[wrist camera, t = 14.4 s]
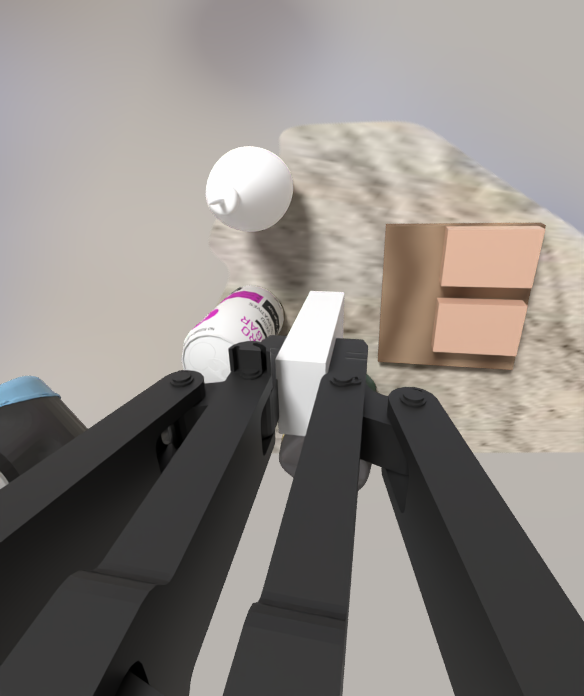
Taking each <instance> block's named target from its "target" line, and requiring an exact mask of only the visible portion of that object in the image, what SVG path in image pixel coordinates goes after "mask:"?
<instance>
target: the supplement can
mask: <svg viewBox="0 0 584 696" xmlns="http://www.w3.org/2000/svg"><path fill="white" fill-rule="evenodd" d="M283 321H284V316H283V309H282V307H281V305H280V303H279V300H278V299H277V298H276V297H275V296H274V295H273V294H272V293H271V292H270V291H268V290H266V289H264V288H262V287H260V286H253V285H247V286H242V287H239V288H238V289H236V290H235V291H233V292H232V293H231V294H229V295H228V296H227V297H226V298H225V299H224V300H223V301H222V302H221V303H220V304H219V305H218V306H217V307H216V308H214V309H213V310H212V311H211V312H210V313H209V314H208V315H207V316H206V317H205V318H204V319H203V320H202V321H201V322H200V323H199V324H197V325H196V326H195V327H194V328H193V329H192V330H191V331H190V332H189V334H188V335H187V337H186V339H185V340H184V345H183V353H182V364H183V369H184V370H191V371H197V372H199V373H201V374H202V375H203V376H204V382H205V383H214V382H222V381H225V380H226V378H227V377H228V375H229V374H230V372H231V371H230V362H229V352H228V348H230V347H231V346H232V345H234V344H237V343H239V342H245V341H259V342H261V341H262V340H264V339H265V338H267V337H268V336H270V335H278V334H279V332H280V331H281V328H282V325H283Z"/></svg>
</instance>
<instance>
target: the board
mask: <svg viewBox="0 0 584 696" xmlns="http://www.w3.org/2000/svg"><path fill="white" fill-rule="evenodd" d="M446 226H540V227H542V228H544V229H545V226H546V225H544V224H542V223H451V224H386V232H385V248H384V265H383V281H382V298H381V314H380V331H379V347H378V362H392V363H408V364H425V365H441V366H458V367H474V368H491V369H507V370H512V369H513V365H514V361H515V356H504V355H486V354H468V353H449V352H433V350H432V345H431V342H432V334H433V326H434V318H435V310H436V302H437V298H469V299H504V300H523V301H524V303H525V304H526V305H527V304H528V300H529V296H530V291H531V288H500V287H456V286H441V284H440V282H439V277H440V269H441V261H442V253H443V245H444V237H445V229H446Z"/></svg>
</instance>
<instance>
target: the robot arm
mask: <svg viewBox="0 0 584 696" xmlns="http://www.w3.org/2000/svg"><path fill="white" fill-rule="evenodd" d="M344 294H345V292H324V291H310V293H309V295H308V297H307V299H306V301H305V302H304V304H303V306H302V308H301V310H300V312H299V314H298V316H297V318H296V320H295V322H294V324H293V326H292V328H291V330H290V332H289V334H288V336H278V335H270V336H268V337H267V338H265V339H264V340H262V341H261V342H259V341H245V342H239V343H237V344H234V345H232V346H231V347H230V348H228V352H229V362H230V371H231V372H230V374H229V375H228V377H227V378H226V380H225V381H222V382H214V383H205V382H204V376H203V375H202V374H201V373H199V372H197V371H191V370H184V371H183V370H181V371H178V372H174V373H171V374H169V375H167V376H165V377H164V378H162V379H161V380H159V381H158V382H157V383H155V384H154V385H152V386H151V387H149V388H148V389H146V390H145V391H143V392H142V393H140V394H139V395H137V396H136V397H134V398H133V399H132V400H130V401H129V402H127V403H126V404H124V405H123V406H121V407H120V408H118V409H117V410H115V411H114V412H113V413H111V414H110V415H108V416H107V417H105V418H104V419H102V420H101V421H99V422H98V423H97V424H95V425H94V426H92V427H91V428H89V429H87V428H86V426H85V425H84V424H83V423H82V422H81V421H80V420H79V419H78V418H77V417H76V416H75V415H74V413H73V412H72V411H71V410H70V409H69V408H68V407H67V406H66V405H65V404H64V403H63V401H62V400H61V397H60V395H59V394H57V393H54V392H53V391H52V390H51V389H50V388H49V387H48V386H47V385H46V384H45V383H44V382H43V381H42V380H41V379H39V378H37V377H34V376H22V377H18V378H16V379H13V380H10V381H8V382H5V383H3V384H1V385H0V696H189V691H190V681H191V677H192V672H193V669H194V666H195V663H196V660H197V657H198V655H199V652H200V649H201V646H202V643H203V640H204V638H205V635H206V632H207V630H208V627H209V624H210V621H211V619H212V616H213V613H214V610H215V608H216V605H217V602H218V599H219V597H220V594H221V591H222V588H223V585H224V583H225V580H226V577H227V575H228V571H229V569H230V566H231V563H232V561H233V558H234V555H235V552H236V550H237V547H238V544H239V541H240V538H241V536H242V533H243V530H244V528H245V525H246V522H247V519H248V517H249V514H250V511H251V508H252V506H253V503H254V500H255V497H256V494H257V492H258V489H259V486H260V483H261V481H262V478H263V475H264V472H265V470H266V467H267V464H268V461H269V459H270V456H271V453H272V450H273V448H274V445H275V428H276V425H277V422H278V426H279V433H280V434H289V435H298V436H305V439H304V442H303V446H302V449H301V453H300V457H299V460H298V464H297V468H296V471H295V475H294V478H293V482H292V486H291V490H290V493H289V497H288V500H287V504H286V508H285V512H284V515H283V518H282V522H281V526H280V529H279V533H278V537H277V540H276V544H275V548H274V551H273V555H272V558H271V562H270V566H269V569H268V573H267V577H266V580H265V584H264V587H263V591H262V594H261V597H260V599H259V601H258V602H256V603H253V604H252V606H251V607H250V609H249V611H248V614H247V617H246V620H245V622H244V625H243V629H242V632H241V636H240V639H239V642H238V645H237V649H236V652H235V656H234V659H233V662H232V666H231V669H230V673H229V676H228V679H227V683H226V686H225V689H224V693H223V696H342V692H343V679H344V678H343V677H344V665H345V653H346V638H347V626H348V612H349V599H350V587H351V572H352V561H353V547H354V535H355V522H356V509H357V495H358V483H359V472H360V459H361V460H364V461H367V462H369V463H372V464H375V465H377V466H380V467H382V476H383V479H384V482H385V485H386V488H387V491H388V494H389V497H390V501H391V503H392V506H393V510H394V512H395V516H396V519H397V521H398V525H399V528H400V530H401V534H402V537H403V540H404V543H405V546H406V549H407V552H408V555H409V558H410V561H411V564H412V567H413V570H414V573H415V576H416V579H417V582H418V585H419V588H420V591H421V594H422V597H423V600H424V603H425V606H426V609H427V613H428V615H429V618H430V622H431V625H432V628H433V631H434V634H435V637H436V640H437V643H438V645H439V649H440V652H441V655H442V658H443V660H444V664H445V667H446V670H447V673H448V676H449V679H450V682H451V685H452V688H453V691H454V694H455V696H584V621H583V620H582V618H581V617H580V615H579V614H578V612H577V611H576V609H575V608H574V606H573V605H572V603H571V602H570V600H569V599H568V597H567V596H566V594H565V593H564V591H563V589H562V588H561V586H560V585H559V583H558V582H557V580H556V579H555V577H554V576H553V574H552V573H551V571H550V570H549V569H548V567H547V565H546V564H545V562H544V561H543V559H542V558H541V556H540V554H539V553H538V552H537V550H536V548H535V547H534V546H533V544H532V543H531V541H530V539H529V538H528V536H527V535H526V533H525V532H524V530H523V529H522V527H521V526H520V524H519V523H518V521H517V520H516V518H515V516H514V515H513V514H512V512H511V511H510V509H509V507H508V506H507V504H506V503H505V501H504V500H503V498H502V497H501V495H500V494H499V492H498V491H497V489H496V488H495V486H494V485H493V483H492V482H491V480H490V478H489V477H488V475H487V474H486V472H485V471H484V469H483V468H482V466H481V465H480V463H479V462H478V460H477V459H476V457H475V456H474V454H473V453H472V451H471V449H470V448H469V446H468V445H467V443H466V442H465V440H464V439H463V437H462V436H461V434H460V433H459V431H458V430H457V428H456V427H455V425H454V424H453V422H452V421H451V419H450V418H449V416H448V414H447V413H446V411H445V410H444V408H443V407H442V405H441V404H440V402H439V401H438V399H437V398H436V397H435V396H434V395H433V394H431V393H430V392H428V391H426V390H423V389H420V388H416V387H403V388H397V389H395V390H393V391H391V393H390V394H389V396H385V395H382V394H379V393H377V392H375V391H373V390H372V389H370V388H369V387H368V385H367V384H366V372H367V357H368V345H367V344H366V343H365V342H364V340H359V339H343V322H344Z"/></svg>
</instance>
